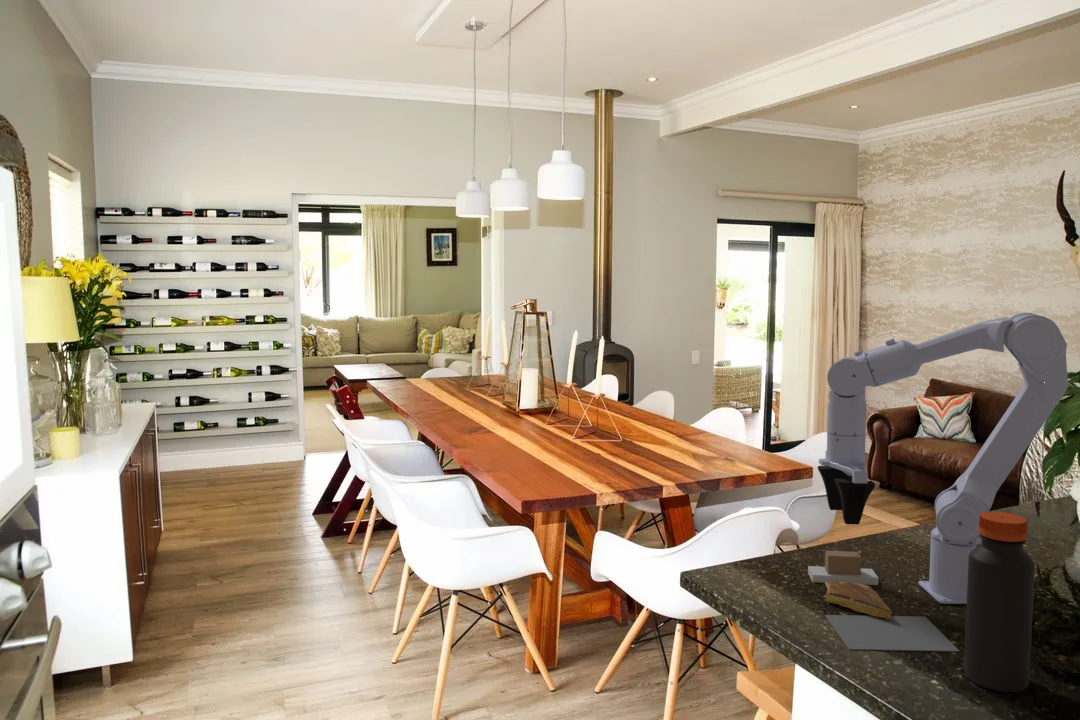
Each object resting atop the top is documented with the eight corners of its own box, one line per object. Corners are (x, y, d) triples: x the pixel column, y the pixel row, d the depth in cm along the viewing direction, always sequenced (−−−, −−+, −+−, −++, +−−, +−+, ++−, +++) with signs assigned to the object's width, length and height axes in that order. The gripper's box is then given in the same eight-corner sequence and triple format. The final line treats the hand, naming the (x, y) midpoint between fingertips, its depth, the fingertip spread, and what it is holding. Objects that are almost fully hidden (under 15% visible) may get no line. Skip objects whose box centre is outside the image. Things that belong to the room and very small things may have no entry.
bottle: (1000, 663, 97) (1008, 507, 95) (1042, 691, 91) (1051, 524, 89) (951, 668, 96) (957, 510, 95) (990, 696, 90) (998, 527, 88)
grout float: (871, 577, 127) (872, 550, 127) (878, 587, 123) (879, 559, 123) (807, 574, 129) (808, 548, 128) (812, 583, 125) (813, 556, 124)
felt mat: (925, 617, 111) (925, 616, 111) (959, 651, 101) (959, 650, 101) (824, 615, 112) (824, 614, 112) (849, 649, 102) (849, 648, 102)
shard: (893, 622, 109) (893, 610, 109) (836, 620, 110) (837, 608, 110) (869, 593, 120) (869, 582, 120) (818, 591, 121) (818, 580, 120)
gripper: (807, 424, 131) (806, 503, 132) (834, 442, 117) (832, 530, 118) (850, 424, 131) (848, 503, 132) (882, 442, 116) (880, 530, 118)
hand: (843, 516), depth 125 cm, fingers open, 7 cm apart
